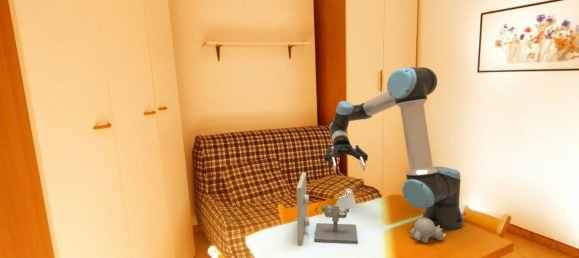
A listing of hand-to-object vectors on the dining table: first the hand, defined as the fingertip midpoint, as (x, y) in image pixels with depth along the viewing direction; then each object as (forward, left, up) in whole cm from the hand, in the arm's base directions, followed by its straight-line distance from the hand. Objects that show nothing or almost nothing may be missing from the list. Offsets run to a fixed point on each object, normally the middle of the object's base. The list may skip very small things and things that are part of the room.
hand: (349, 168), depth 140 cm
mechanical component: (+6, +11, -23) cm, 26 cm away
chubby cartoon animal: (-29, +14, -24) cm, 40 cm away
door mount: (+9, +12, -24) cm, 28 cm away
